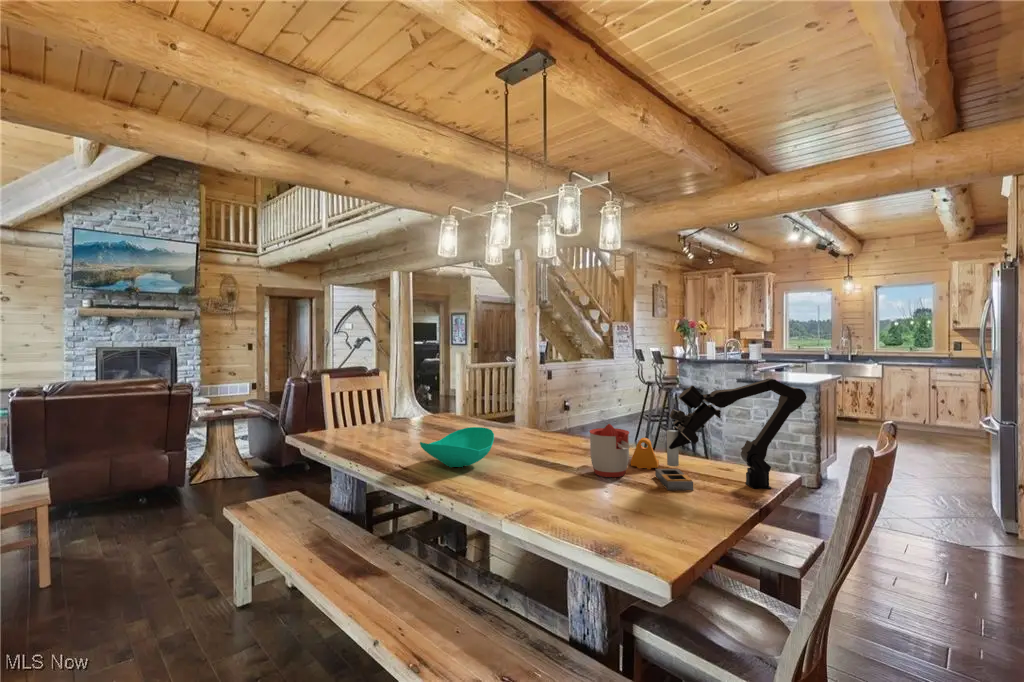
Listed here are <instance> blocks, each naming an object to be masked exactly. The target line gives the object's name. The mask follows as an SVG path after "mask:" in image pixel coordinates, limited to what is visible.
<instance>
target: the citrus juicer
mask: <svg viewBox="0 0 1024 682" xmlns="http://www.w3.org/2000/svg"><path fill="white" fill-rule="evenodd" d="M588 431H589V441H590V442H589V444H590V445H589V448H590V460H591V465H592V469H593V471H594V473H595V475H597V476H600V477H603V478H607V477H612V478H619V477H623V476H625V474H626V471H627V469H628V465H629V461H630V460H629V458H630V436H629V435H630V431H629V430H626V429H622V428H615V427H614V426H613V425H612V424H611V423H608V424H607V425H605V426H604V427H602V428H601V427H599V428H593V429H590V430H588Z"/></svg>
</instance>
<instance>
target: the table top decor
mask: <svg viewBox="0 0 1024 682" xmlns="http://www.w3.org/2000/svg"><path fill="white" fill-rule="evenodd" d="M494 441H495V433H494V431H493V430H492V429H491V428H488V427H481V426H479V427H478V426H477V427H476V426H475V427H474V426H473V427H472V426H470V427H465V428H462V429H457V430H456V431H453V432H451V433H449V434H446V436H444V437H442V438H441V439H438V440H436V441H433V442H430V443H426V442H422V441H420V442H419V445H420V447H421V449H422V450H423V451H424V452H426V453H427V454H428V455H429V456H431V457H433V458H434V459H436V460H437V461H439V462H440V463H442V464H444V465H445V466H447V467H448V466H449V467H448V468H452V467H462V468H464V467H463V466H466V467H468V466H471V465H474V464H476V463H478V462H480V461H481V460H482V459H484V458H485V457H486V456H487V455H488V454H489V453H490V451H491V449H492V447H493V444H494Z"/></svg>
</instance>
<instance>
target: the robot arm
mask: <svg viewBox="0 0 1024 682" xmlns="http://www.w3.org/2000/svg"><path fill="white" fill-rule="evenodd" d="M769 391H771V392H773V393H774V394H777V395H779V397H778V403H777V407H776V408H775V409H774V411H773V413H772V414H771V415H770V417H769V418H768V420H767V421H766V422H765V424H764V426H763V427H762V429H761V430H760V432H759V433H758V434H757V436H756V438H754V439H753V440H751V441H750V440H748V439H747V440H746V441H745V443H744V444H743V446H742V447H741V448H740V450H741V451H740V457H741V459H742V460H743V461H744V462H745V464H746V466H747V468H746V469H747V472H745V485H747V486H748V485H749V486H748V487H750V488H751V489H754V490H755V489H756V490H761V489H762V490H763V489H764V490H771V489H773V488H772V486H770V472H771V470H772V466H770V464H768V463H767V462H766V461H765V459H766V457H767V454H768V453H767V452H768V447H769V446H770V444H771V443H772V441H773V440H774V438H775V437H776V435H777V434H778V432H779V431H780V429H781V428H782V427H783V425H784V424H785V422H786V421H787V419H788V418H789V416H790V415H791V414H792V413H794V412H795V411H796V410H798V409H799V408H800V407H801V406H802V405H803V404H805V402H806V401H807V395H806V394H807V393H806V392H805V391H804V390H803V389H802V388H798V387H795V386H789V385H786V384H784V383H782V382H780V381H778V380H777V379H774V378H771V377H770V378H769V377H768V378H765V379H763V380H760V381H757V382H756V381H755V382H753V383H750V384H746V385H742V386H738V387H736V388H728V389H717V390H713V391H711V392H710V393H707V394H706V393H705V394H702V393H701V391H699V390H698V389H697V387H695V386H694V385H690V387H688V388H686V389H685V390H683V391H682V392H681V393H680V394H679V396H678V399H680V401H681V402H682V403H684V404H685V405H686V406H687V407H688V408H689V409H690V410H691V409H695V410H694V411H693V412H691V413H690V412H689V413H688V414H686V413H685V411H683V410H676V409H675V408H673V409H671V412H670V414H669V416H668V417H669V418H670V419H673V420H674V422H672V424H673V430H676V431H677V437H676V438H675V439H674V441H673V442H672V443H671V445H670V446H669V448H670V449H674V448H677V447H678V448H679V447H682V446H686V445H688V444H689V445H690V444H694V445H696V444H697V443H698V442H699V435H697V432H698V431H700V430H701V428H702V429H704V428H705V427H706V425H705V424H707V423H708V422H709V421H710V420H711V419H712V418H713V417H714V416H716V418H719V419H721V418H722V416H721V412H722V411H721V410H720V409H722V408H726V407H729V406H730V405H733V404H734V403H735V402H737V401H739V400H742V399H745V398H749V397H753V396H756V395H759V394H763V393H767V392H769ZM706 402H707V403H708V404H707V403H706ZM714 406H715V407H717V408H719V409H716V408H715V407H714Z"/></svg>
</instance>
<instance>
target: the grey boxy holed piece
mask: <svg viewBox="0 0 1024 682" xmlns="http://www.w3.org/2000/svg"><path fill="white" fill-rule="evenodd" d="M654 470H655V471H654V472H655V476H656V477H657V478H658V479H659V480H660V481H659V480H658V479H657V478H656V479H657V480H658V481H659V482H660V483H661V484H662V485H663V487H664V486H665V487H666V488H667V489H666V488H665V487H664V488H665V489H666V490H667V491H686V490H693V491H694V481H693V480H692V478H690V477H689V476H688V475H687V474H685V473H684V472H682V470H680V469H679V468H655V469H654ZM655 476H654V477H655Z"/></svg>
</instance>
